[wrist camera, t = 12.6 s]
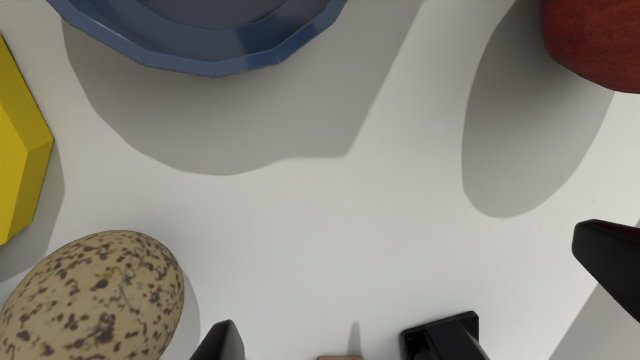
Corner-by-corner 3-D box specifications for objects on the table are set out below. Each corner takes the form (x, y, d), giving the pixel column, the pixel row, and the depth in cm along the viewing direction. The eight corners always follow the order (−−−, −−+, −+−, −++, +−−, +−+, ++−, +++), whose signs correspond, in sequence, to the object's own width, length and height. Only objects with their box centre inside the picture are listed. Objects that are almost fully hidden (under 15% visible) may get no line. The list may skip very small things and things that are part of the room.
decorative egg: (189, 200, 19) (112, 345, 9) (205, 294, 21) (158, 476, 12) (56, 209, 18) (-172, 379, 9) (91, 306, 20) (-53, 513, 11)
